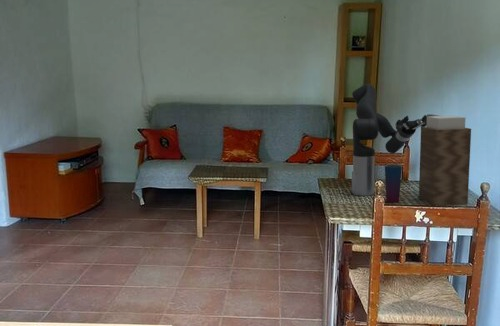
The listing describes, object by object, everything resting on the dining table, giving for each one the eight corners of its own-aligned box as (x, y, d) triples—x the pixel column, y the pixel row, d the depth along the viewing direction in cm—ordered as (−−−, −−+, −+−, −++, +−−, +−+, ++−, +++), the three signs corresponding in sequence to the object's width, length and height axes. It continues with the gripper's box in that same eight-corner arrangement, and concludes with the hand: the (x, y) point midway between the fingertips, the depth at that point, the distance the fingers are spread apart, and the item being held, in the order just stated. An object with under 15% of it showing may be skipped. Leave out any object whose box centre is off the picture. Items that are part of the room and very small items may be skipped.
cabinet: (432, 205, 183) (435, 130, 178) (418, 197, 197) (420, 126, 192) (467, 204, 184) (471, 128, 179) (451, 195, 198) (454, 125, 192)
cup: (404, 202, 190) (405, 166, 187) (390, 204, 188) (390, 167, 185) (394, 198, 196) (395, 163, 193) (380, 200, 194) (381, 165, 192)
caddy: (437, 133, 180) (438, 118, 179) (416, 128, 201) (417, 114, 200) (464, 132, 180) (465, 117, 179) (441, 127, 201) (441, 113, 200)
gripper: (389, 125, 230) (400, 110, 215) (418, 123, 230) (430, 109, 215) (392, 139, 227) (403, 125, 212) (420, 137, 228) (433, 123, 213)
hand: (416, 117), depth 214 cm, fingers open, 8 cm apart
